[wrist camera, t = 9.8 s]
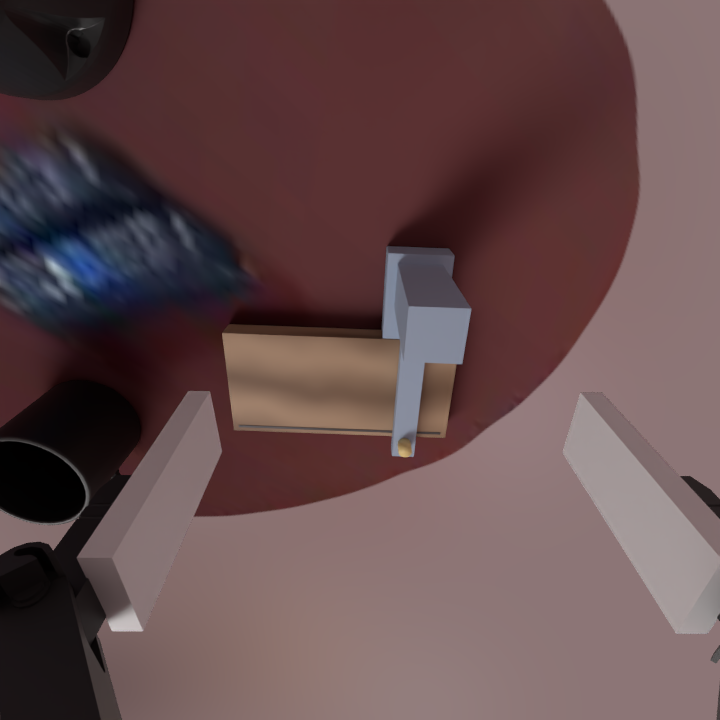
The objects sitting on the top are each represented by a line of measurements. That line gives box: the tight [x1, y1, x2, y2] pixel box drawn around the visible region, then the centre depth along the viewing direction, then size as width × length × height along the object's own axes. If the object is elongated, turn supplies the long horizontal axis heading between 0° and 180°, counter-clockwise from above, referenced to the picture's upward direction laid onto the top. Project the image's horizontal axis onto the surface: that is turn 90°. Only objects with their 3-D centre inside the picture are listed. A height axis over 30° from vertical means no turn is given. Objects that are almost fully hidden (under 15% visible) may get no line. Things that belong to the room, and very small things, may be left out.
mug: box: [0, 380, 140, 525], centre depth 38 cm, size 9×12×9 cm
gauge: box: [382, 246, 471, 457], centre depth 33 cm, size 18×5×12 cm, turn 178°
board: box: [222, 324, 457, 438], centre depth 38 cm, size 10×20×2 cm, turn 88°
